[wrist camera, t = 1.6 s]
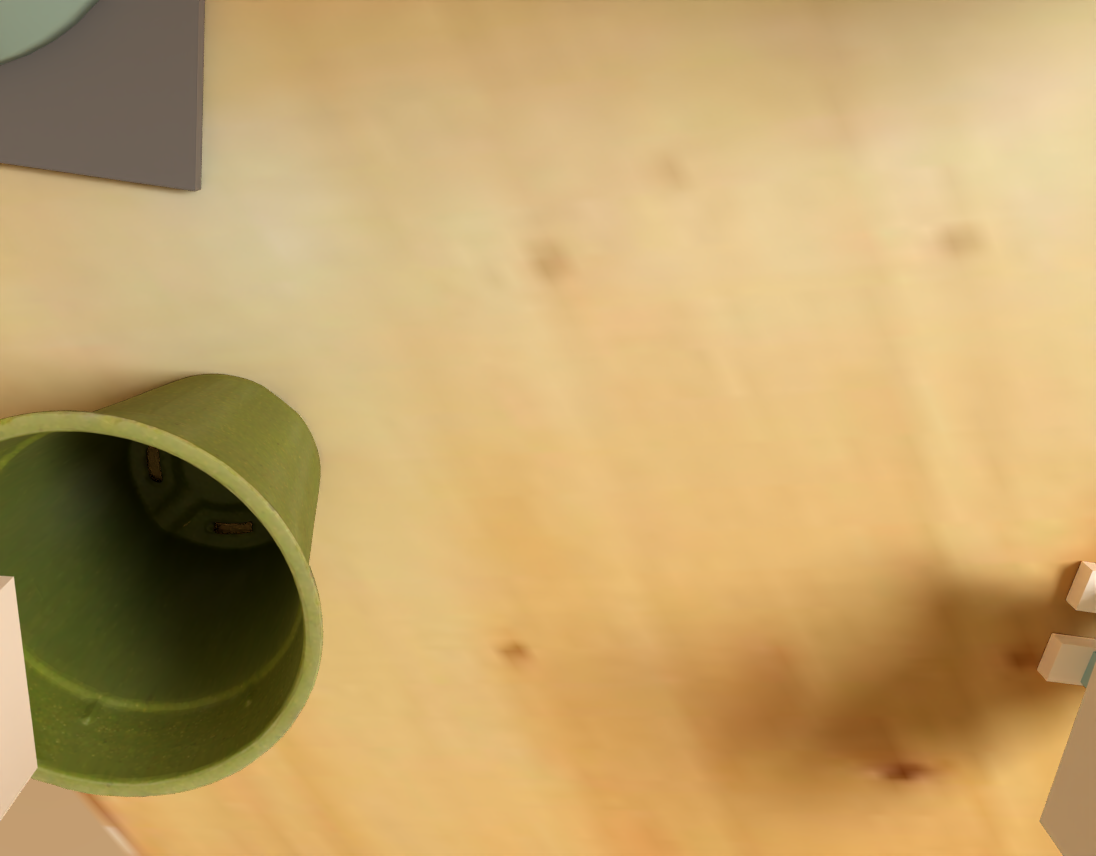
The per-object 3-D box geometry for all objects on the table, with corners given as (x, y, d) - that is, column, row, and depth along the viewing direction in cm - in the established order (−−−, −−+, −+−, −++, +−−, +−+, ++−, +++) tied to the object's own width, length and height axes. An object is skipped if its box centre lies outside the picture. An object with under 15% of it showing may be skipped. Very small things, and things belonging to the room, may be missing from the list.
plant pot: (271, 250, 33) (155, 333, 22) (435, 521, 37) (402, 701, 26) (-5, 395, 34) (-236, 537, 24) (180, 640, 38) (52, 855, 28)
